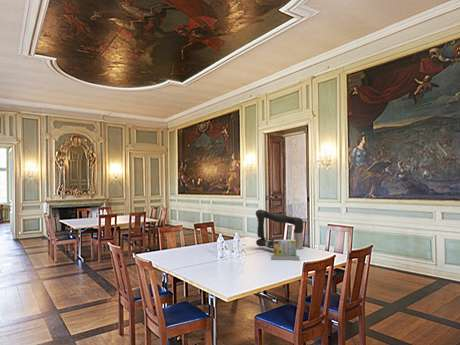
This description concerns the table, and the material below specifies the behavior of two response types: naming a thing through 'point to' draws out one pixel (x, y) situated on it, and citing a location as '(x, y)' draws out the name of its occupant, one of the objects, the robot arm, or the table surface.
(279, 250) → the snack box
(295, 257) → the mat
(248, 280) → the table surface
